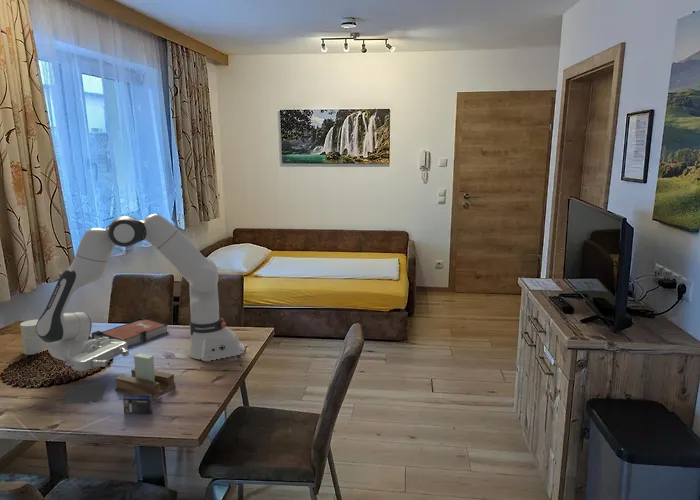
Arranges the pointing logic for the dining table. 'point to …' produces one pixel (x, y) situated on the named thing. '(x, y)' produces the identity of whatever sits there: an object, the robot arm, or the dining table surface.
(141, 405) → the mini dv tape
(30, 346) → the cup
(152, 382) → the rack
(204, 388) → the dining table surface
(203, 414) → the dining table surface
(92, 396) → the mat
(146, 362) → the tall sage green pillar
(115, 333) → the book
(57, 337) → the robot arm
